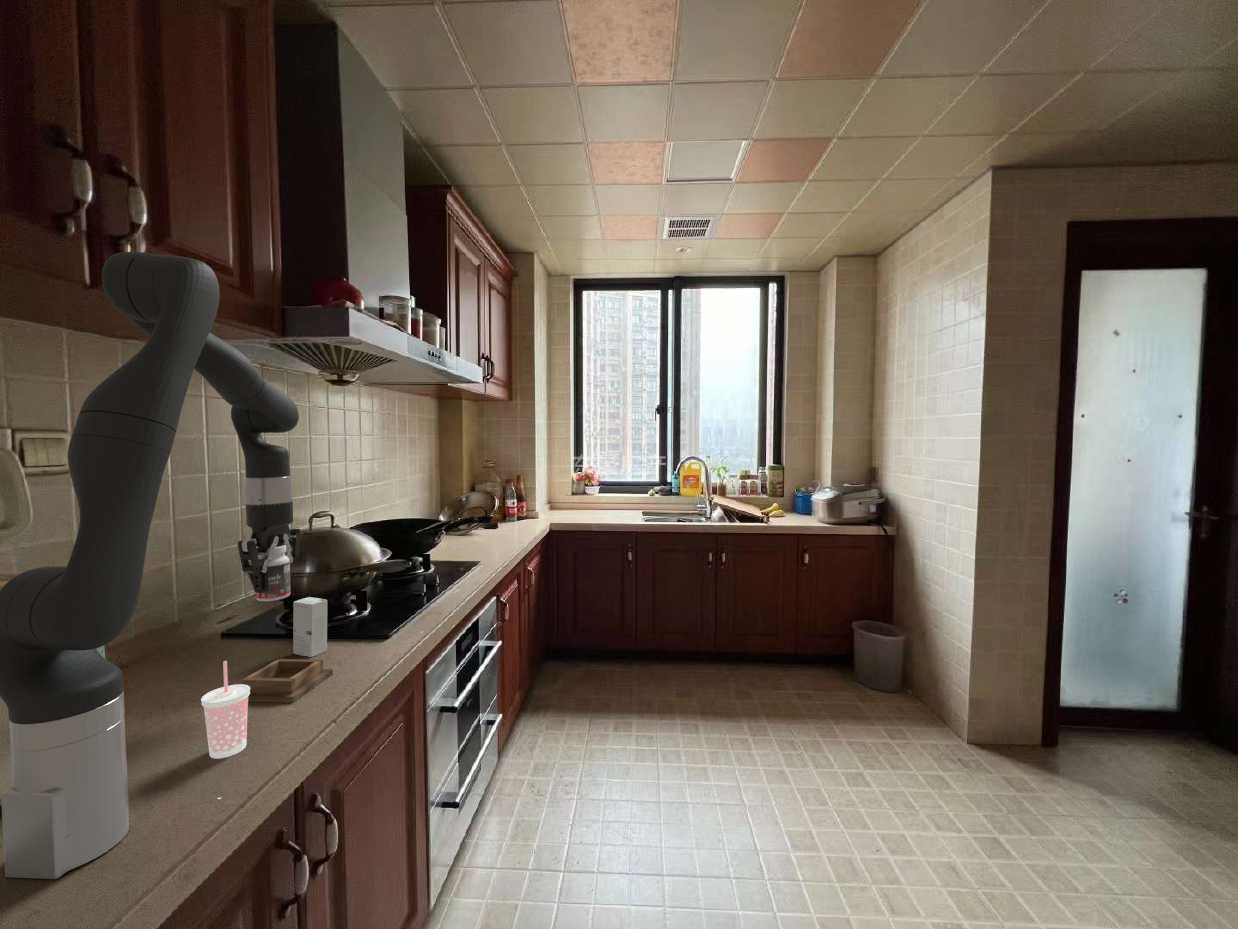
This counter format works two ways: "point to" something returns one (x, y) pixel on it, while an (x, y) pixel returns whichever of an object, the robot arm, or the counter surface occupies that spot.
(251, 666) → the counter surface
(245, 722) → the beverage cup
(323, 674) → the wooden tray
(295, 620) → the skincare box
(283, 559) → the pill bottle
